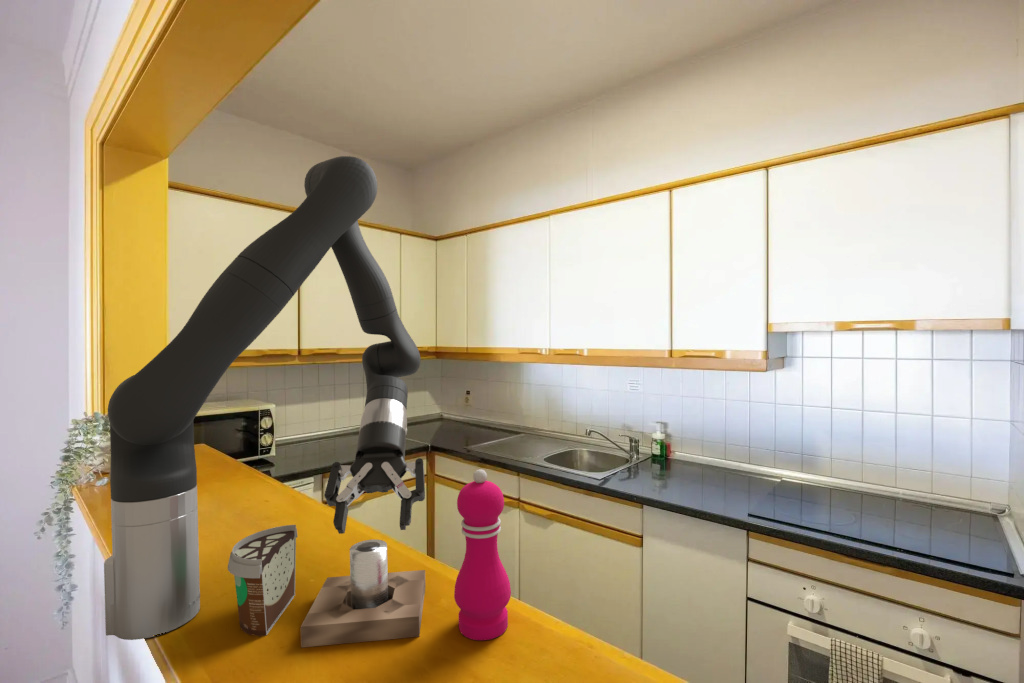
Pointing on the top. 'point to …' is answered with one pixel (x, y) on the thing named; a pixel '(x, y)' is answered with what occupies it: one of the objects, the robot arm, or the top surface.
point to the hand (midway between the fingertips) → (371, 529)
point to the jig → (365, 612)
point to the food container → (264, 577)
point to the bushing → (368, 574)
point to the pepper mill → (481, 562)
